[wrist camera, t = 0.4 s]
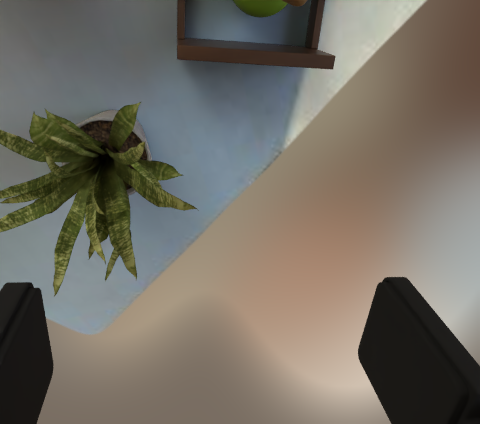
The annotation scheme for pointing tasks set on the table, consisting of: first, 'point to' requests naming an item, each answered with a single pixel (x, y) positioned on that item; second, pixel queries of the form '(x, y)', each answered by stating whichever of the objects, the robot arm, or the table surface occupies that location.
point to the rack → (257, 46)
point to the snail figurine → (265, 6)
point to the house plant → (89, 181)
